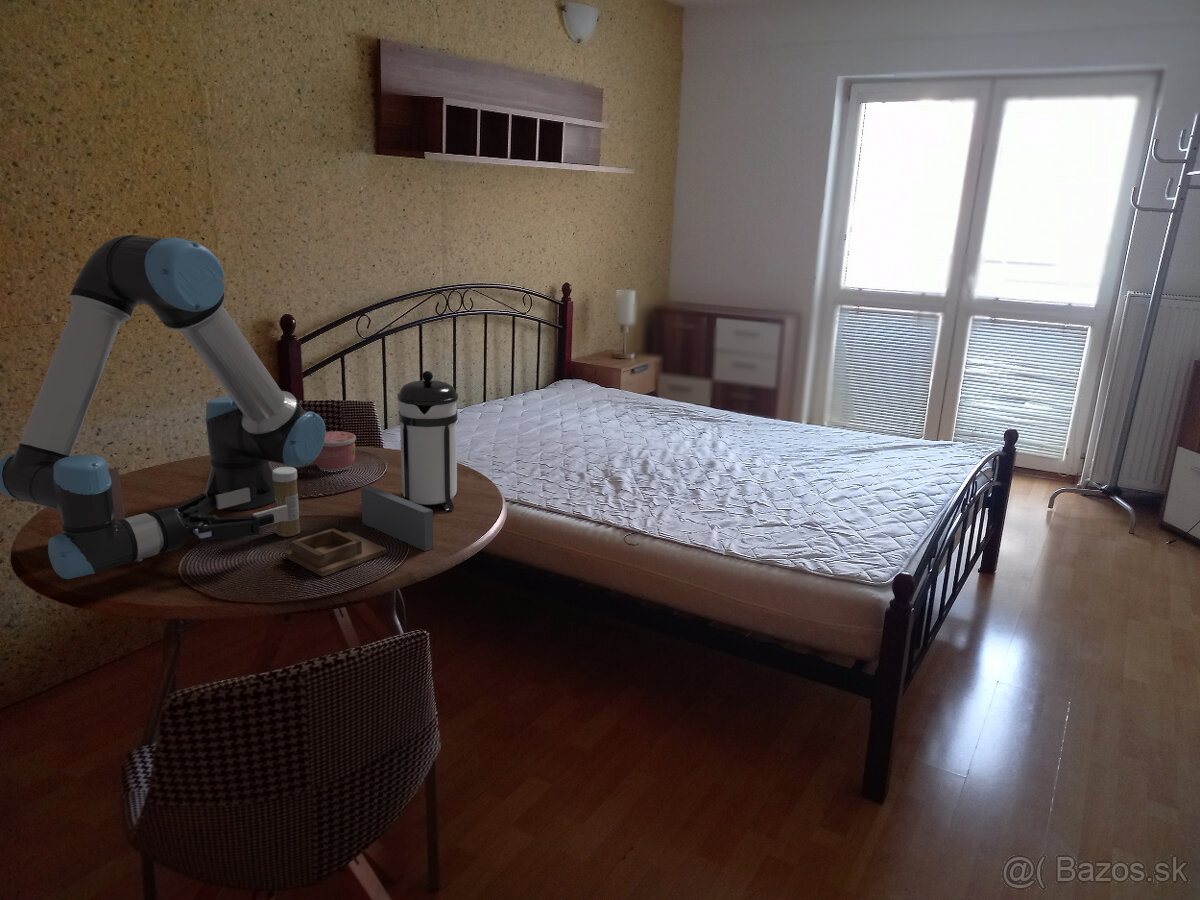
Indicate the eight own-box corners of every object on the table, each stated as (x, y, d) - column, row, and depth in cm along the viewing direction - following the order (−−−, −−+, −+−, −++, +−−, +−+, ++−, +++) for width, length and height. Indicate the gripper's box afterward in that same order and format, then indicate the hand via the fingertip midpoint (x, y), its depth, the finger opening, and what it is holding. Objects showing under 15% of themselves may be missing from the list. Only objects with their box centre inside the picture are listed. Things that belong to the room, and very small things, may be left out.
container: (333, 477, 198) (331, 445, 196) (303, 468, 204) (301, 437, 201) (366, 466, 207) (364, 436, 205) (337, 458, 212) (335, 428, 210)
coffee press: (480, 503, 186) (480, 372, 177) (420, 520, 175) (417, 381, 166) (436, 483, 197) (434, 359, 189) (377, 497, 186) (372, 367, 178)
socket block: (322, 576, 147) (321, 558, 146) (285, 557, 154) (283, 539, 153) (386, 553, 158) (386, 536, 157) (349, 536, 165) (348, 519, 164)
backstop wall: (425, 551, 160) (424, 512, 158) (362, 523, 172) (360, 487, 169) (433, 548, 161) (432, 510, 159) (370, 521, 173) (369, 485, 171)
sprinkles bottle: (272, 533, 165) (267, 469, 161) (293, 527, 169) (288, 464, 165) (284, 539, 162) (279, 474, 159) (305, 533, 166) (301, 469, 162)
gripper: (125, 533, 153) (236, 504, 168) (190, 574, 138) (304, 538, 154) (120, 495, 150) (232, 469, 166) (185, 533, 136) (302, 501, 151)
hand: (267, 502), depth 160 cm, fingers open, 13 cm apart
